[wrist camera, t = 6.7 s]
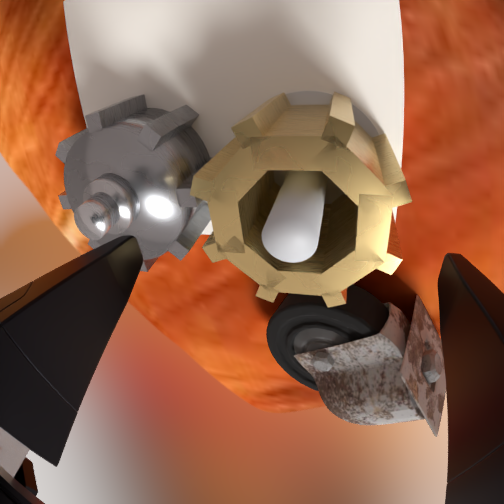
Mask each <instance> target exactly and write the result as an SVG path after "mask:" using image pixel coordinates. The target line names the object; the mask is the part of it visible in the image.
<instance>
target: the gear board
mask: <svg viewBox="0 0 504 504" xmlns="http://www.w3.org/2000/svg"><path fill="white" fill-rule="evenodd" d="M63 3H64V12H65V20H66V27H67V34H68V40H69V46H70V52H71V58H72V63H73V69H74V74H75V79H76V84H77V88H78V93H79V98H80V102H81V106H82V110H83V115H84V119H85V123H86V127H87V128H88V126H87V122H86V118H85V116H86V115H88V114H90V113H93V112H95V111H97V110H100V109H102V108H105V107H107V106H109V105H112V104H115V103H117V102H120V101H122V100H125V99H128V98H130V97H134V96H138V95H143V94H144V95H145V100H146V105H147V108H158V109H163V110H166V111H169V112H171V111H173V110H175V109H178V108H180V107H182V106H184V105H188V106H189V107H190V108H192V109H193V110H194V111H195V112H197V113H198V114H199V116H198V117H197V119H196V120H195V121H194V123H193V124H192V128H193V129H194V130H195V131H196V132H197V133H198V135H199V136H200V138H201V139H202V141H203V142H204V144H205V146H206V148H207V151H208V153H209V156H210V157H214V156H215V155H216V154H217V153H218V152H219V151H220V150H222V149H223V148H224V147H225V146H226V145H227V144H228V143H229V142H230V141H231V140H233V139H234V138H235V137H236V136H235V135H234V133H233V131H232V129H231V127H232V126H234V125H235V124H236V123H238V122H239V121H240V120H242V119H243V118H244V117H245V116H247V115H248V114H249V113H251V112H252V111H253V110H255V109H256V108H258V107H259V106H260V105H262V104H263V103H264V102H266V101H267V100H269V99H270V98H272V97H275V96H277V95H279V94H281V93H283V92H284V93H285V95H286V97H287V99H288V100H289V102H290V104H291V105H329V104H330V101H331V98H332V96H333V93H334V92H337V93H339V94H342V95H344V96H347V97H349V98H351V104H352V110H353V116H354V120H355V121H356V122H357V123H358V124H359V125H360V126H361V127H362V128H363V129H364V130H365V131H366V132H367V133H368V134H369V135H370V136H371V137H375V136H378V135H381V134H384V133H385V134H386V136H387V138H388V141H389V143H390V145H391V147H392V149H393V152H394V154H395V156H396V159H397V161H398V163H399V166H400V168H401V162H402V147H403V126H404V62H403V41H402V27H401V16H400V6H399V0H65V1H63ZM274 181H275V183H277V184H278V185H279V186H280V187H281V189H280V191H279V194H278V196H277V198H276V200H275V203H274V205H273V207H272V210H271V212H270V214H269V216H268V219H267V221H266V223H265V225H264V228H263V230H262V242H263V245H264V247H265V248H266V250H267V251H268V252H269V253H270V254H271V255H272V256H274V257H275V258H277V259H279V260H281V261H285V262H291V263H295V262H301V261H304V260H306V259H308V258H310V257H311V256H312V255H313V254H314V253H315V251H316V249H317V246H318V240H319V234H320V228H321V222H322V215H323V209H324V204H331V203H332V202H334V201H335V200H336V199H337V198H338V197H340V196H341V195H342V194H343V193H344V192H343V191H342V190H341V189H340V188H339V187H338V186H337V185H336V184H335V183H334V182H333V181H332V180H331V179H330V178H329V177H327V176H326V175H325V174H324V173H323V172H322V171H297V170H274ZM206 203H207V201H206ZM207 204H208V203H207ZM392 211H393V215H394V220H395V221H396V213H397V207H393V208H392ZM212 232H213V227H212V222H211V220H210V222H209V223H208V225H207V226H206V227H205V229H204V230H203V232H202V233H201V234H209V235H211V233H212Z"/></svg>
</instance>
